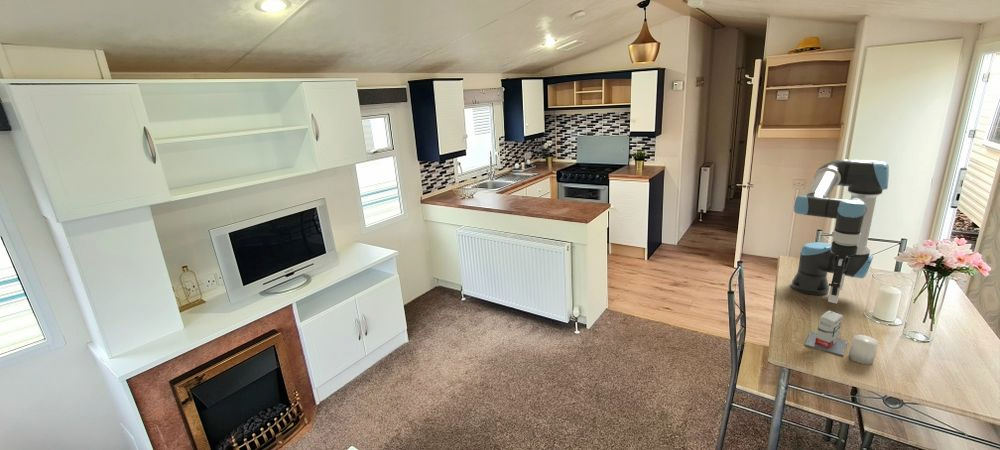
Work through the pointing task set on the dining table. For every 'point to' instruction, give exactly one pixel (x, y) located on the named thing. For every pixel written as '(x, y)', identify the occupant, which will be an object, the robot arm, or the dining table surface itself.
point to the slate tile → (834, 349)
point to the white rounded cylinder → (863, 349)
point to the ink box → (828, 329)
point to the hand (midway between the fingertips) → (835, 295)
